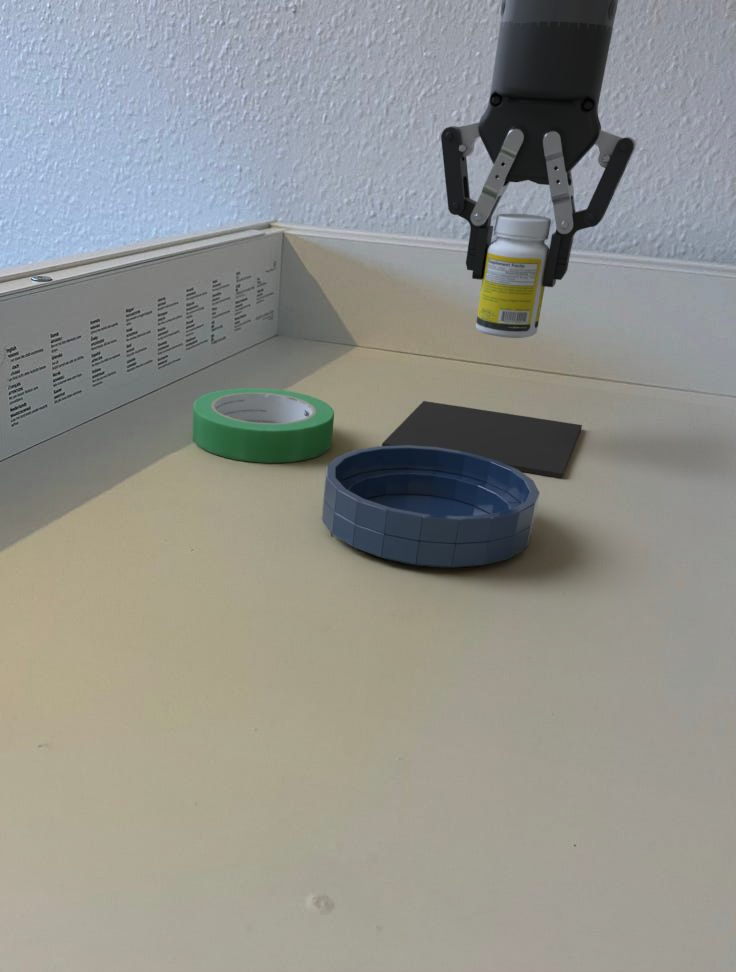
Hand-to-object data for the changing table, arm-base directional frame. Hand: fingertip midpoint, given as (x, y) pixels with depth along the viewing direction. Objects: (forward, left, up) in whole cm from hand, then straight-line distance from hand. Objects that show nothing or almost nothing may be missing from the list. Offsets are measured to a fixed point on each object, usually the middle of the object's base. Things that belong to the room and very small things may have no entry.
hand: (513, 280), depth 76 cm
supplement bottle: (0, 0, -4) cm, 4 cm away
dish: (0, +22, -12) cm, 25 cm away
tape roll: (+16, +10, -13) cm, 23 cm away
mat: (0, 0, -12) cm, 12 cm away
